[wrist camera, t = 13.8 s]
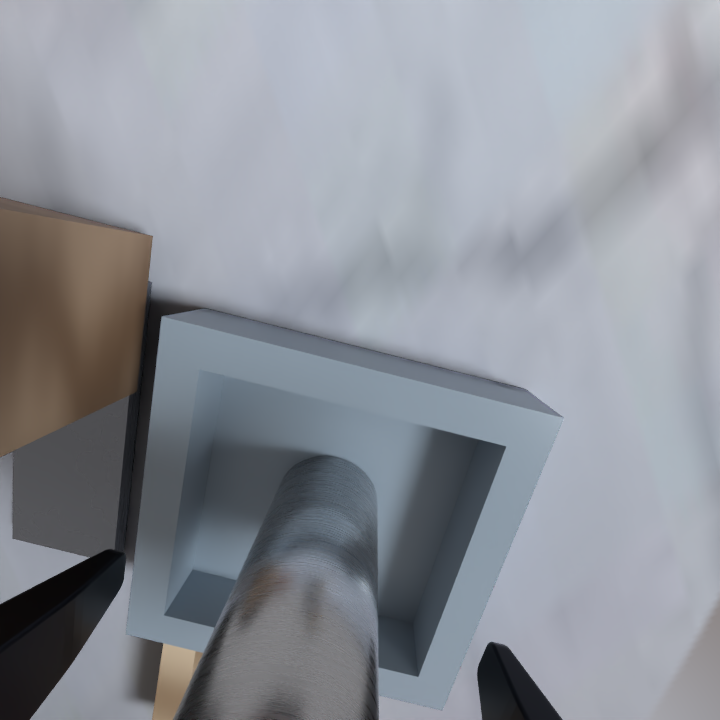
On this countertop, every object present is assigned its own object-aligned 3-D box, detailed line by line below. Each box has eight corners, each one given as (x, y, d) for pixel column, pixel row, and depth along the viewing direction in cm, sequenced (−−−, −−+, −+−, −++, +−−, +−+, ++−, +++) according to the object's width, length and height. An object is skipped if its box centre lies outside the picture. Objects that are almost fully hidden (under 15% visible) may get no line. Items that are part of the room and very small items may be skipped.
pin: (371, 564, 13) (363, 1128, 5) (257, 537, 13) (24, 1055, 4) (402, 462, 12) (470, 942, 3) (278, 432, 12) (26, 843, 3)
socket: (320, 744, 16) (312, 807, 14) (172, 708, 16) (145, 767, 14) (356, 628, 15) (353, 681, 13) (192, 588, 15) (164, 636, 13)
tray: (431, 638, 15) (442, 710, 12) (167, 574, 15) (125, 634, 12) (525, 389, 12) (563, 417, 10) (205, 308, 12) (161, 316, 9)
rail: (123, 551, 14) (112, 562, 14) (27, 527, 14) (12, 538, 14) (151, 282, 12) (140, 282, 11) (34, 252, 12) (16, 251, 11)
